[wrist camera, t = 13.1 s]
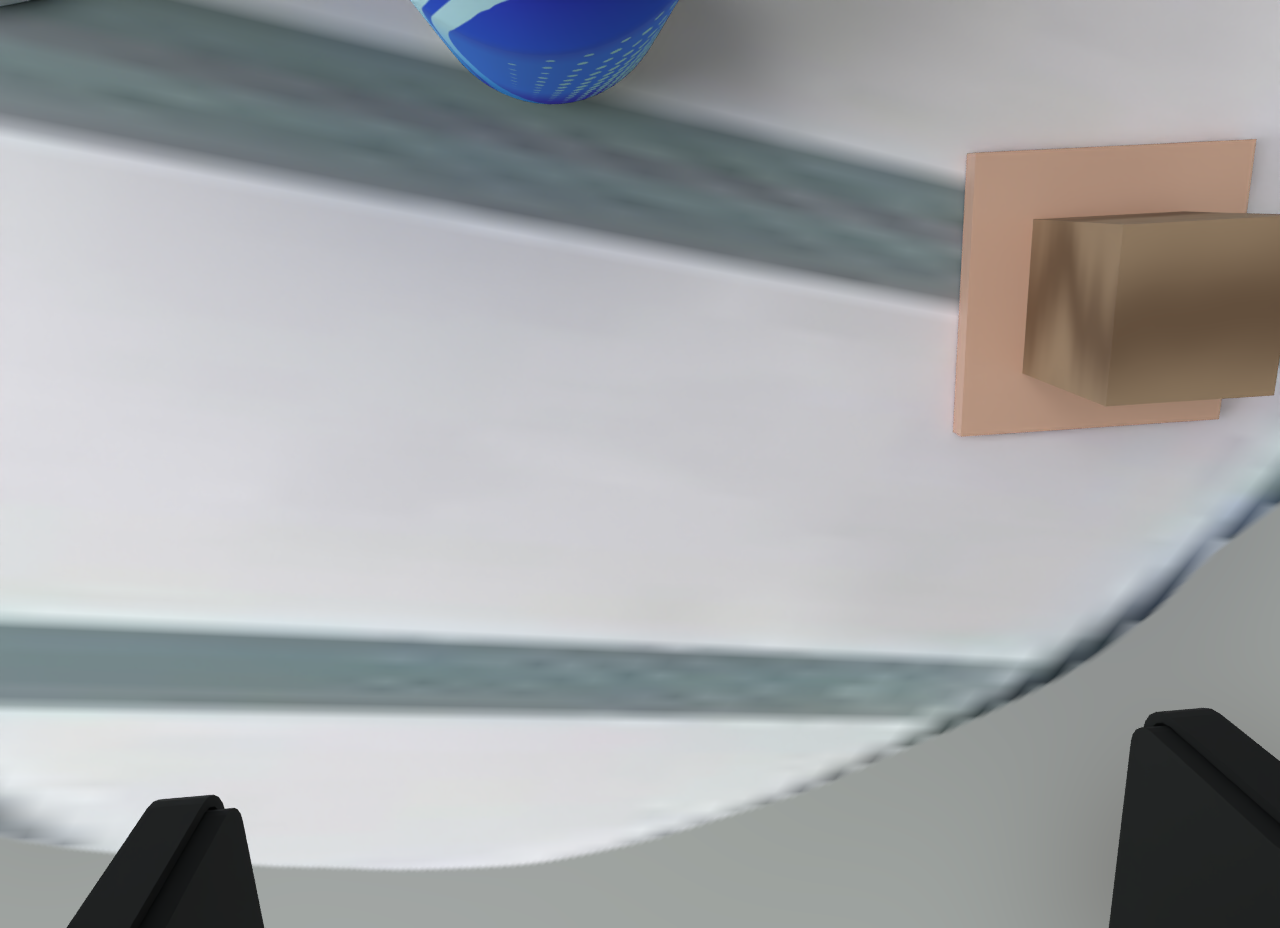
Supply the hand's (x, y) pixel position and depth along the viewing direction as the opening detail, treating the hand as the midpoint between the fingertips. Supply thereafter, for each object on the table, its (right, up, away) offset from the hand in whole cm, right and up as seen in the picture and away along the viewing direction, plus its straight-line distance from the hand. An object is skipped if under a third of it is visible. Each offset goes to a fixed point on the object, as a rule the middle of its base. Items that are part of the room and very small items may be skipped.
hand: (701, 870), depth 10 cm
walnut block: (+18, +11, +27) cm, 34 cm away
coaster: (+18, +11, +28) cm, 35 cm away
